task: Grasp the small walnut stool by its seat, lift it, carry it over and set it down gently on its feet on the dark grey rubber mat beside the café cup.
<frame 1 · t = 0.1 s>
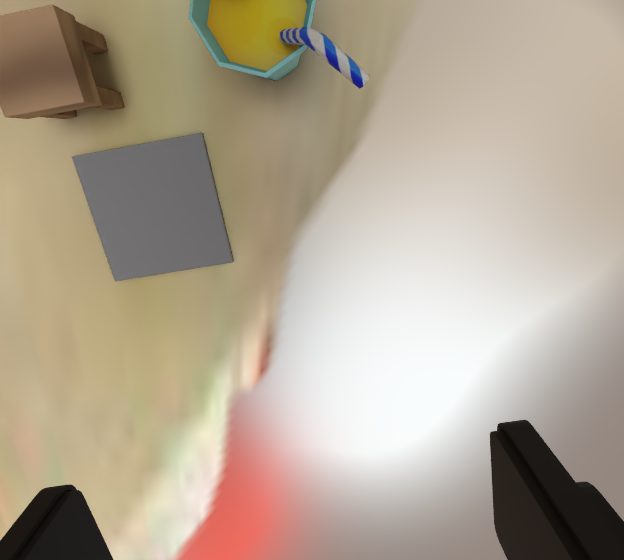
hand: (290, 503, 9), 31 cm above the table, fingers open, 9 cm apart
cup: (280, 53, 34), on the table
mat: (157, 210, 38), on the table
stool: (82, 78, 35), on the table
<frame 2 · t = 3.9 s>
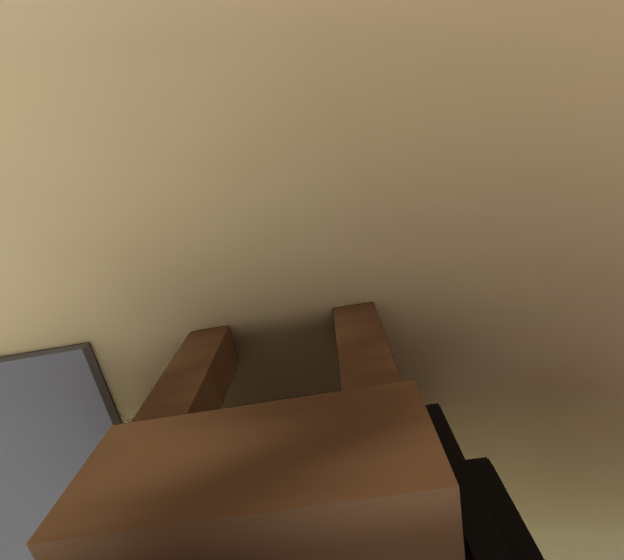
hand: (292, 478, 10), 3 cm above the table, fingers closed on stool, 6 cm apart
stool: (298, 395, 13), on the table, touching gripper
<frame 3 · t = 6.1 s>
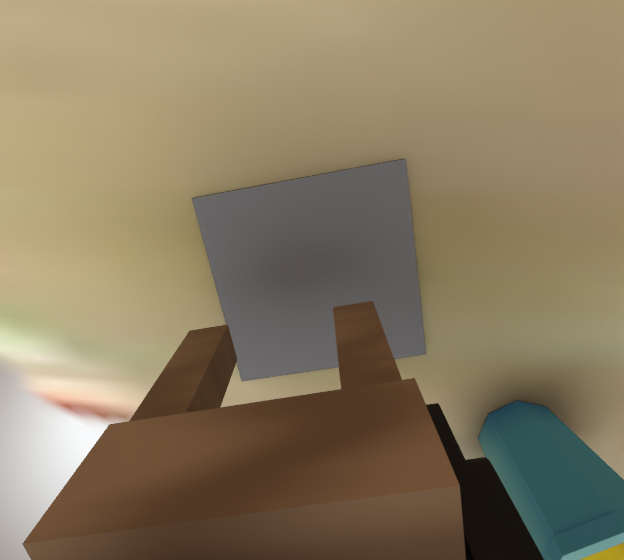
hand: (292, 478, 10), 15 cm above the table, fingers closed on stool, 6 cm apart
cup: (506, 439, 28), on the table
mat: (315, 278, 24), on the table
stool: (297, 394, 13), point 12 cm above the table, touching gripper
when the fingers open (4 cm above the table, at t = 8.3 s): stool stays where it is, resting on mat.
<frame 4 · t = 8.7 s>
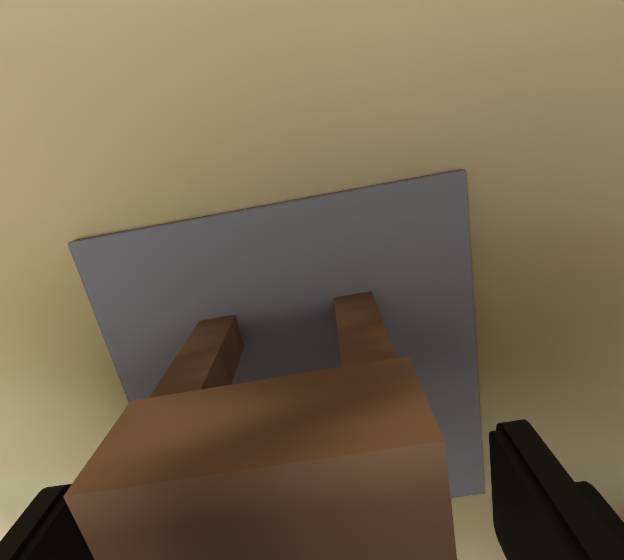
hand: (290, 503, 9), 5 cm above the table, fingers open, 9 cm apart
mat: (299, 375, 14), on the table
stool: (301, 380, 14), resting on mat
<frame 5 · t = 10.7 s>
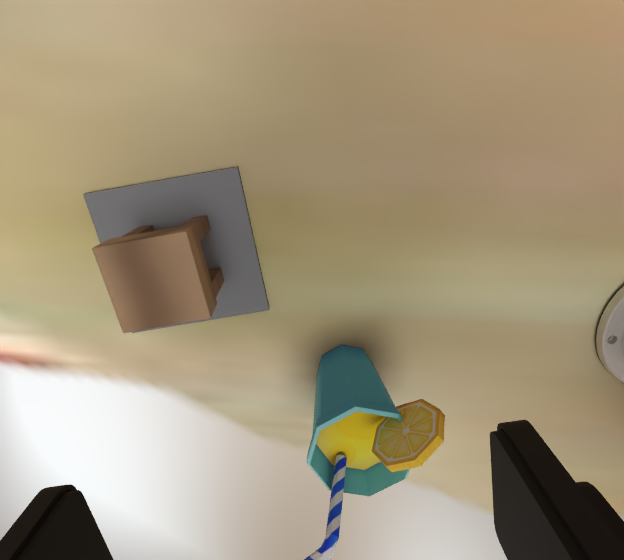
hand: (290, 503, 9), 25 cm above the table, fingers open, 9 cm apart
cup: (339, 375, 38), on the table
mat: (182, 253, 33), on the table
stool: (182, 254, 33), resting on mat
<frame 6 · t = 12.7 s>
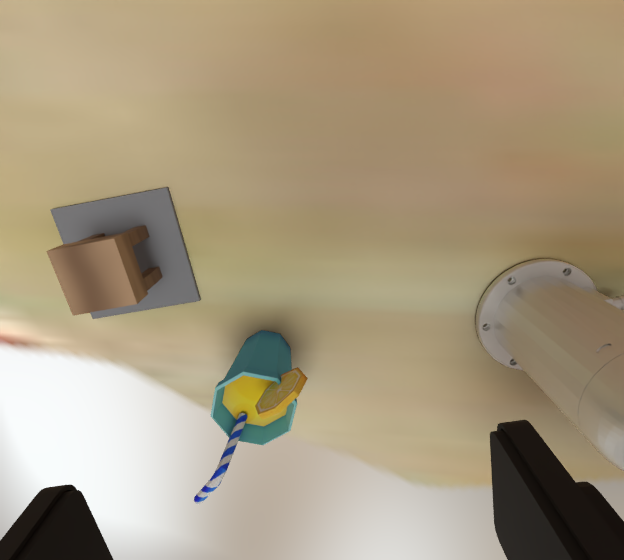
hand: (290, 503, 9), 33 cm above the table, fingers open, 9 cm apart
cup: (262, 356, 46), on the table
mat: (129, 255, 42), on the table
stool: (128, 256, 41), resting on mat
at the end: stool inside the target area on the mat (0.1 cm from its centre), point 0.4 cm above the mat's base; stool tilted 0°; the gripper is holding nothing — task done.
